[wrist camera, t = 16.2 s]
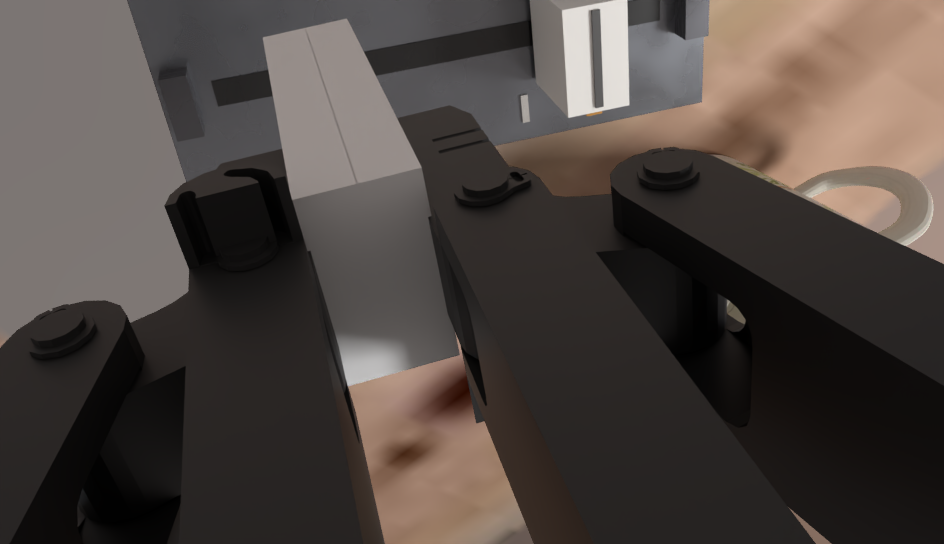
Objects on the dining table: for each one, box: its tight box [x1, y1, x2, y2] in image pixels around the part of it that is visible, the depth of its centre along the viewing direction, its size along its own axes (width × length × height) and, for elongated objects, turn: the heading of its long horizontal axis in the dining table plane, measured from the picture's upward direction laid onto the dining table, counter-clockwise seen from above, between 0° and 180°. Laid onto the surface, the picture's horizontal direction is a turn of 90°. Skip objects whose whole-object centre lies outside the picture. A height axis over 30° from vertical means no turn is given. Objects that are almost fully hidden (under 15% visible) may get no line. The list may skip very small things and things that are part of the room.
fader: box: [530, 0, 629, 118], centre depth 33 cm, size 2×4×4 cm, turn 7°
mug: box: [712, 154, 933, 324], centre depth 40 cm, size 8×13×10 cm, turn 114°
